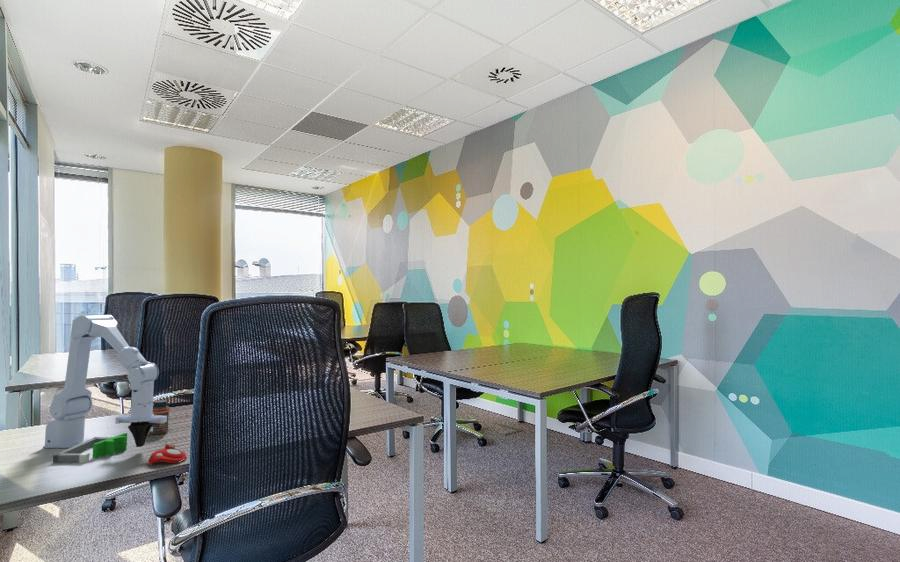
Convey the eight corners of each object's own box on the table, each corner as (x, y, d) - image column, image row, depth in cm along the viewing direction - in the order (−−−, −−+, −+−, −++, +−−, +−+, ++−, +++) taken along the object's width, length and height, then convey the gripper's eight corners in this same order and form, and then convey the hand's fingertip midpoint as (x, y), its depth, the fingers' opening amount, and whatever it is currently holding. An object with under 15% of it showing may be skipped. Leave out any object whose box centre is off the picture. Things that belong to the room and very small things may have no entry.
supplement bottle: (150, 436, 156) (152, 403, 157) (147, 432, 160) (148, 400, 161) (170, 432, 160) (171, 401, 161) (166, 428, 165) (168, 398, 165)
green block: (103, 460, 134) (103, 444, 134) (92, 459, 134) (92, 444, 134) (134, 447, 145) (134, 433, 145) (123, 446, 145) (124, 432, 145)
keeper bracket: (52, 463, 130) (52, 455, 130) (94, 443, 147) (95, 436, 147) (84, 462, 130) (85, 455, 131) (123, 443, 148) (123, 436, 148)
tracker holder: (194, 455, 135) (161, 457, 127) (188, 470, 135) (155, 472, 127) (175, 439, 142) (142, 440, 134) (169, 453, 141) (136, 454, 133)
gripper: (109, 405, 136) (107, 450, 135) (158, 405, 137) (156, 450, 136) (124, 400, 143) (122, 442, 142) (171, 400, 144) (169, 442, 143)
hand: (140, 445), depth 140 cm, fingers closed
